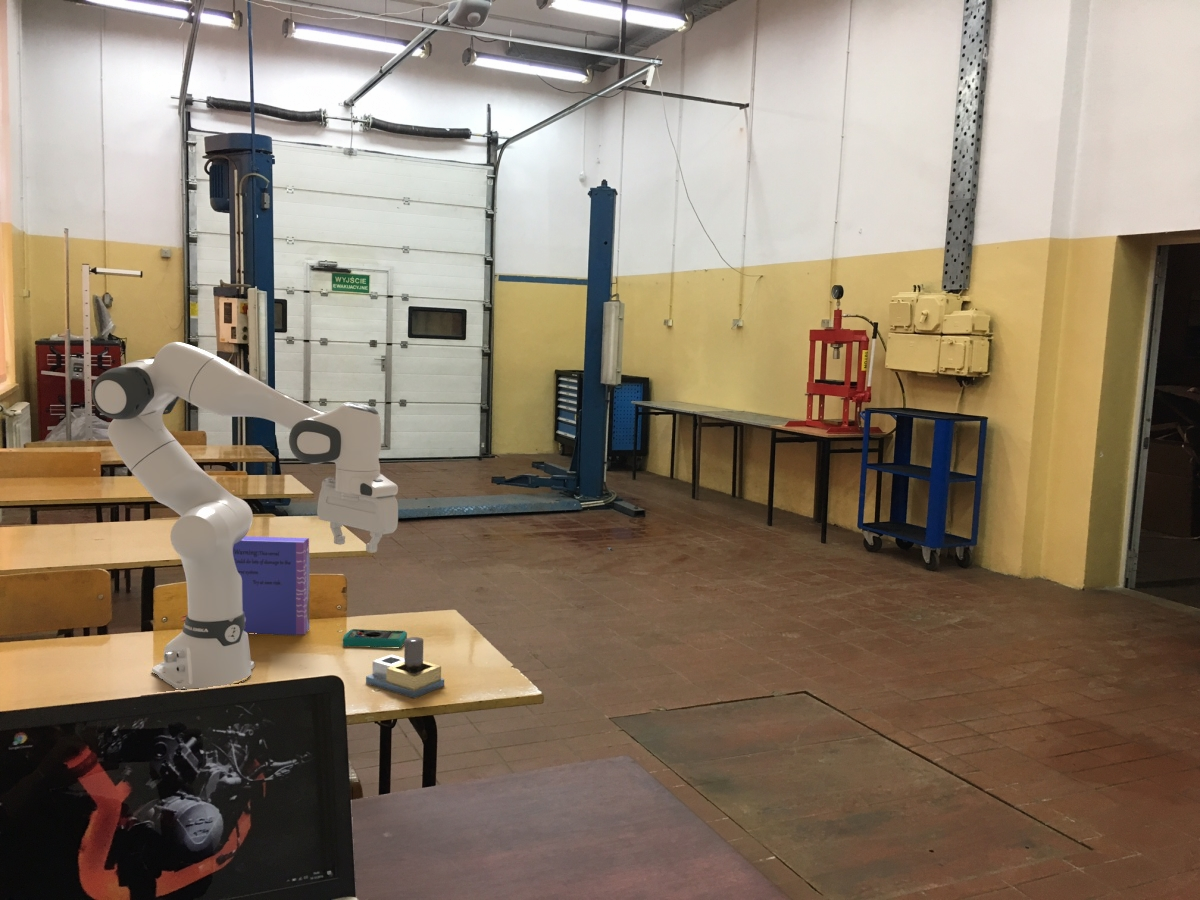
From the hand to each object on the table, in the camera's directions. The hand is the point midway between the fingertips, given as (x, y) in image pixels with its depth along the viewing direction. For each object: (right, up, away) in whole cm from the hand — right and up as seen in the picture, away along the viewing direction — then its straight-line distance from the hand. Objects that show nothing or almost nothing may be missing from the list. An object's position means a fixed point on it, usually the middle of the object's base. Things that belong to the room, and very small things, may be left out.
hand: (355, 547), depth 198 cm
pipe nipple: (+10, -30, +9) cm, 32 cm away
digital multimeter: (-5, -28, +37) cm, 47 cm away
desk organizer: (+8, -31, +10) cm, 34 cm away
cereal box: (-32, -26, +43) cm, 59 cm away
